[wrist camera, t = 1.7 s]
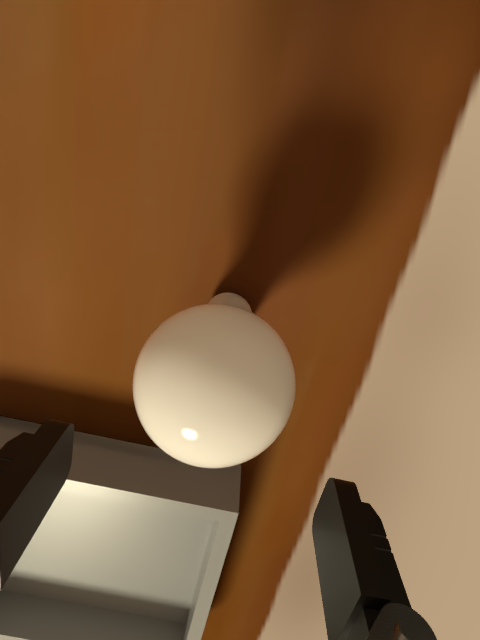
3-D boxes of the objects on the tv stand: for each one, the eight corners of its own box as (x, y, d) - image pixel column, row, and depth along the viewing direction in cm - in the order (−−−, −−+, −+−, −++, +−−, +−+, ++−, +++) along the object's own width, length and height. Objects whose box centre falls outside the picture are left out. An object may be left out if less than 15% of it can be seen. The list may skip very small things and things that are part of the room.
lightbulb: (174, 354, 24) (114, 500, 14) (174, 252, 22) (100, 341, 12) (278, 362, 24) (291, 514, 14) (289, 260, 22) (316, 357, 12)
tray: (-20, 412, 27) (-64, 453, 23) (241, 464, 27) (238, 513, 24) (-10, 581, 34) (-43, 634, 30) (197, 619, 35) (189, 675, 31)
